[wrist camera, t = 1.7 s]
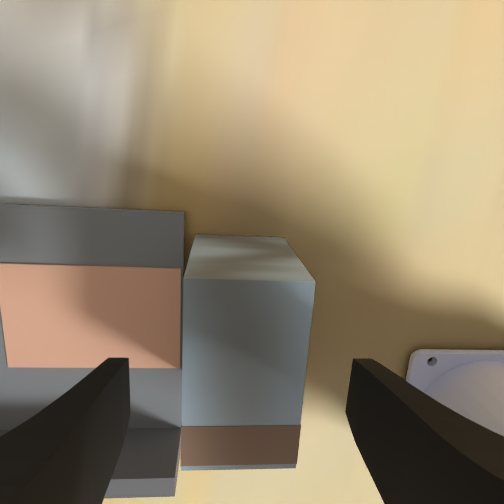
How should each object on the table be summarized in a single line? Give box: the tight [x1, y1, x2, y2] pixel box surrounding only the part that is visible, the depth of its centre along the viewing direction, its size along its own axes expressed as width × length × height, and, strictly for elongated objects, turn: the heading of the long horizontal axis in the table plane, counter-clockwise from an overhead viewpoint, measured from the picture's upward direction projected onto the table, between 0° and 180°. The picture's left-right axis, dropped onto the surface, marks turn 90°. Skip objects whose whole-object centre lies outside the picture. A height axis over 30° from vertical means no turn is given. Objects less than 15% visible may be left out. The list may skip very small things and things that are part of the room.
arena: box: [0, 203, 185, 498], centre depth 16 cm, size 13×12×3 cm
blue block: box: [181, 234, 316, 471], centre depth 15 cm, size 4×7×6 cm, turn 176°
